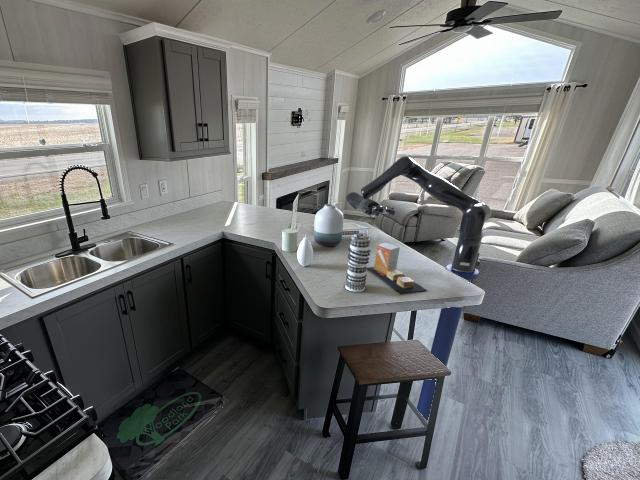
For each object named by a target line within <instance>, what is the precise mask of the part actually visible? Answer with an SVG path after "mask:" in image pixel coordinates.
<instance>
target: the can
mask: <svg viewBox="0 0 640 480" xmlns="http://www.w3.org/2000/svg"><path fill="white" fill-rule="evenodd" d="M281 233H282V234H281V250H282V251H283V252H287V253H293V252H297V251H298V236H299V235H298V233H299V231H298V229H296V228H292V227H291V228H284V229H282V230H281Z"/></svg>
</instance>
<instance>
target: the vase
mask: <svg viewBox="0 0 640 480" xmlns="http://www.w3.org/2000/svg"><path fill="white" fill-rule="evenodd" d="M344 222H345V217H344V213H343V212H342V211H341V210H340V209H339V208H338V207H337V205H336V204H335V203H333V204H332V203H326V204H324V206H323V207H322V208H321V209H319V210H318V211H317V212H316V213H315V216H314V223H313V239H314V242H315V243H316V244H317V245H320V246H323V247H335V246H338V245H339V244H340V243H341V242H342V239H343V235H344Z"/></svg>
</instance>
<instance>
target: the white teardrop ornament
mask: <svg viewBox="0 0 640 480" xmlns="http://www.w3.org/2000/svg"><path fill="white" fill-rule="evenodd" d="M313 249H314V248H313V245H312V243H311V241H310V240H309V237H307V235H305V236H304V237H303V238H302V240H301V241H300V243H299V245H298V246H297V251H296V256H297V261H298V264H299V265H301V266H302V267H307V266H309V265H310V264H311V263H312V261H313V259H314V250H313Z"/></svg>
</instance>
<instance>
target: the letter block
mask: <svg viewBox="0 0 640 480" xmlns="http://www.w3.org/2000/svg"><path fill="white" fill-rule="evenodd" d="M414 283H416V282H415V280H414V279H412V278H410V277H409V276H406V277H399V278H398V279H397V284H398V285H399V286H401V287H402V288H411V287H414Z"/></svg>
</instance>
